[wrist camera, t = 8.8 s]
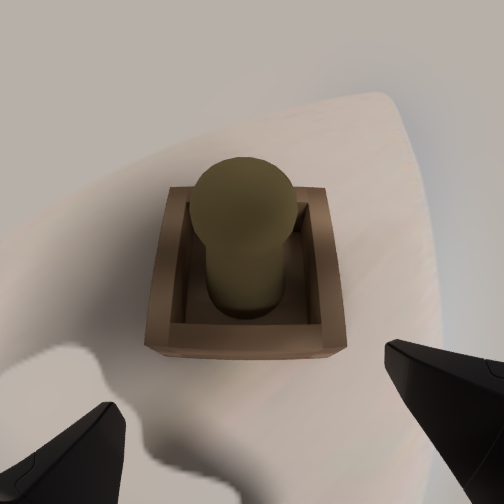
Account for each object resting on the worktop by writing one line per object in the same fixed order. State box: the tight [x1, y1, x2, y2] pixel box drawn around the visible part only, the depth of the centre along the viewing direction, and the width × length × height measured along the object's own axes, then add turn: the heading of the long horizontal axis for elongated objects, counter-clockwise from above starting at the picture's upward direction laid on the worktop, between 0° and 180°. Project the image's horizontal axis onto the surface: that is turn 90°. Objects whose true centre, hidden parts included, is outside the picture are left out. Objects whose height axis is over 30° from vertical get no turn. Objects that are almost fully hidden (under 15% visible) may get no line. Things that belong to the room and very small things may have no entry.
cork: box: [189, 157, 298, 320], centre depth 17 cm, size 6×6×11 cm
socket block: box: [144, 187, 347, 360], centre depth 20 cm, size 12×12×4 cm
